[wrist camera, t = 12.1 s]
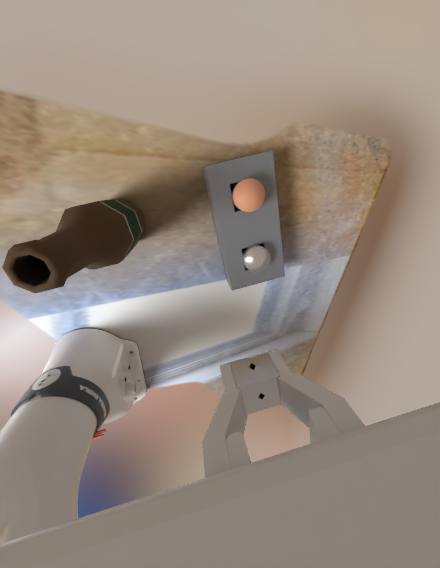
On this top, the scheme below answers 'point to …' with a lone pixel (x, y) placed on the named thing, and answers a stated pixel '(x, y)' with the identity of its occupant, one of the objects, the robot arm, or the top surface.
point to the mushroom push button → (248, 195)
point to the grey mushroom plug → (256, 258)
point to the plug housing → (245, 217)
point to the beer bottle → (76, 245)
